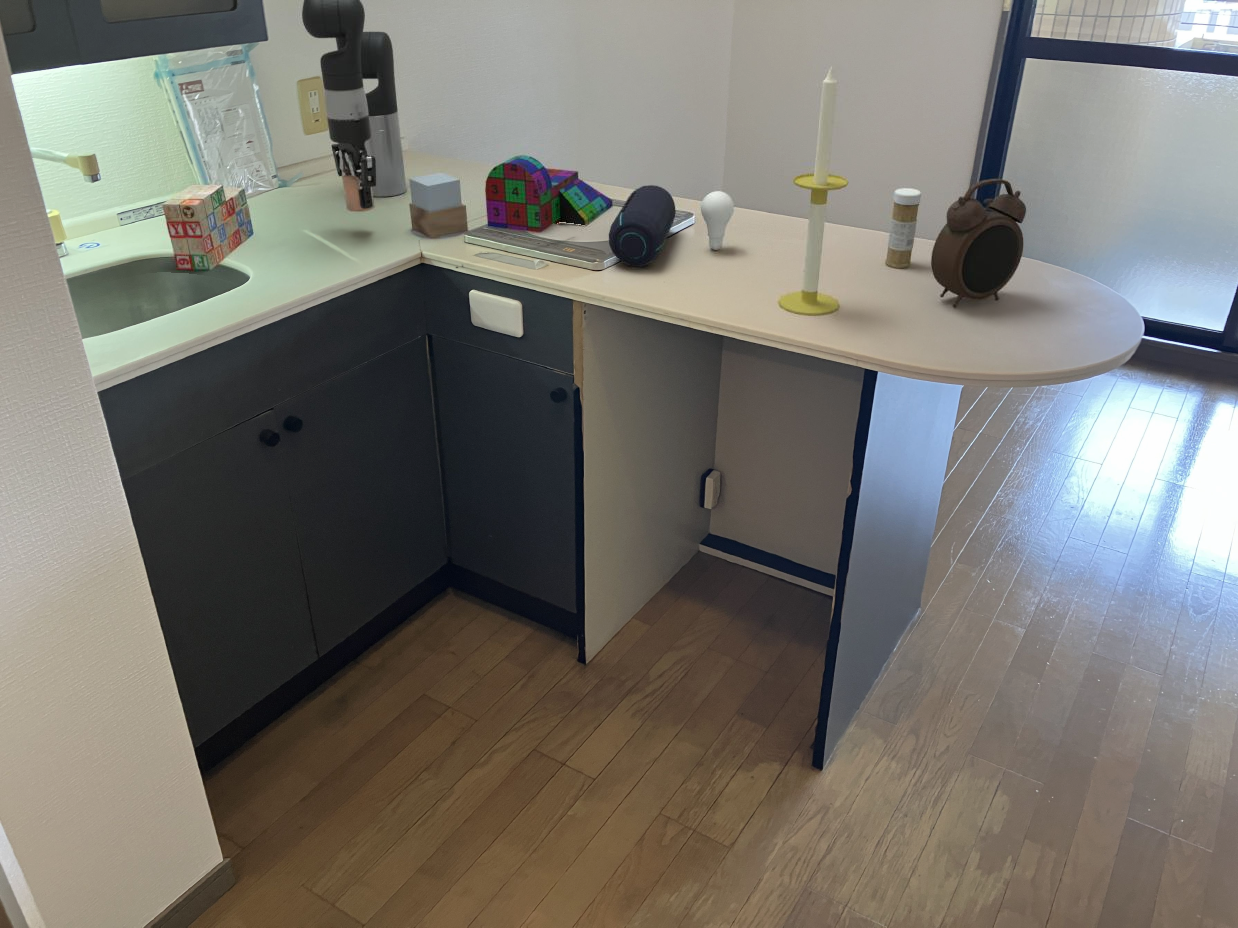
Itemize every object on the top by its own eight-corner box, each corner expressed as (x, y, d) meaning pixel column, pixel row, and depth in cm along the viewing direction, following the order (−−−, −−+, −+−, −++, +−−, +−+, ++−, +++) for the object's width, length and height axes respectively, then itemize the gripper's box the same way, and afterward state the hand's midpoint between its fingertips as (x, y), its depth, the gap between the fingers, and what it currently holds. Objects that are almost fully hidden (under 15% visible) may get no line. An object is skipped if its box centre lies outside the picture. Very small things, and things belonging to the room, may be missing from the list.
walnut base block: (412, 229, 199) (409, 203, 197) (447, 221, 204) (445, 196, 201) (432, 238, 194) (429, 213, 191) (467, 230, 198) (465, 205, 196)
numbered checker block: (566, 241, 196) (563, 168, 189) (488, 232, 201) (483, 160, 194) (612, 206, 216) (612, 139, 209) (540, 199, 221) (537, 133, 214)
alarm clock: (949, 315, 162) (971, 191, 152) (921, 300, 168) (940, 180, 158) (1020, 301, 167) (1045, 181, 157) (990, 287, 173) (1012, 170, 163)
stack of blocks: (223, 233, 201) (210, 171, 194) (254, 234, 200) (242, 172, 194) (177, 270, 182) (161, 203, 176) (210, 271, 182) (195, 203, 176)
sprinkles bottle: (899, 259, 186) (909, 186, 179) (915, 266, 182) (927, 192, 175) (879, 263, 184) (889, 189, 177) (895, 270, 180) (906, 195, 174)
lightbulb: (736, 247, 192) (739, 189, 186) (725, 256, 187) (728, 198, 182) (705, 243, 194) (708, 186, 189) (694, 252, 189) (696, 194, 184)
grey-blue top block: (412, 204, 196) (409, 178, 194) (443, 197, 200) (440, 172, 198) (430, 212, 192) (427, 186, 189) (461, 205, 196) (459, 179, 193)
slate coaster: (402, 233, 200) (401, 228, 199) (450, 223, 206) (449, 218, 205) (429, 247, 193) (428, 242, 192) (478, 236, 198) (478, 231, 198)
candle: (839, 317, 162) (868, 70, 143) (776, 313, 163) (796, 68, 144) (838, 295, 170) (865, 59, 151) (779, 291, 172) (798, 57, 153)
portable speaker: (628, 228, 203) (628, 179, 197) (677, 231, 201) (679, 181, 196) (604, 270, 181) (604, 216, 176) (659, 274, 180) (660, 219, 175)
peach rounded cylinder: (342, 207, 195) (337, 176, 191) (366, 201, 197) (362, 171, 194) (354, 213, 191) (349, 182, 188) (379, 208, 194) (374, 177, 191)
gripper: (311, 109, 188) (326, 199, 197) (345, 123, 178) (359, 217, 187) (349, 104, 192) (361, 192, 201) (384, 117, 182) (395, 209, 191)
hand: (360, 204), depth 194 cm, fingers closed on peach rounded cylinder, 5 cm apart
